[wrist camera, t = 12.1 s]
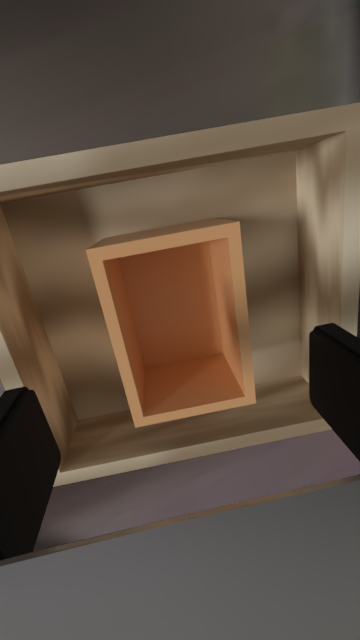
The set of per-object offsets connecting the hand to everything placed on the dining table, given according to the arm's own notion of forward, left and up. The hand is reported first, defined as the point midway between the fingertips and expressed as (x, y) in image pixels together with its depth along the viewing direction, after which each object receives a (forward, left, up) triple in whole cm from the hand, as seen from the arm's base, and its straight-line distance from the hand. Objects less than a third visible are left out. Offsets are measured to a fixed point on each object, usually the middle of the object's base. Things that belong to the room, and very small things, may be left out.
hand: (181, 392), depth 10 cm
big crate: (0, +1, -12) cm, 12 cm away
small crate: (0, +1, -11) cm, 11 cm away
